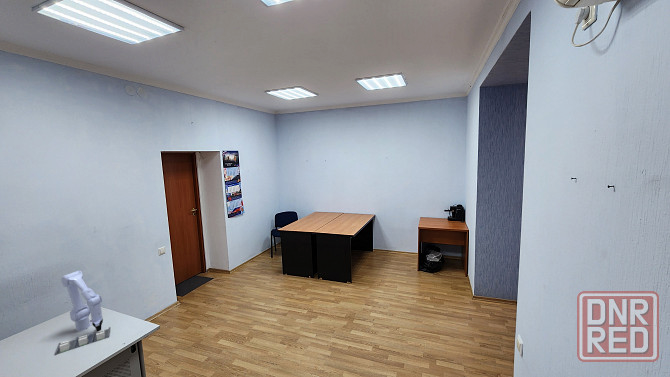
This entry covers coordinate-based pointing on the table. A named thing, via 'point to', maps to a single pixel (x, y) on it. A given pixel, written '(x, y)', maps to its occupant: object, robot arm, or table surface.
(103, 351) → the table surface
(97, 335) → the breaker
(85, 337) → the block
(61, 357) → the table surface
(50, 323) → the table surface
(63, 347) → the breaker right
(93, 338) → the panel
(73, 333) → the table surface
